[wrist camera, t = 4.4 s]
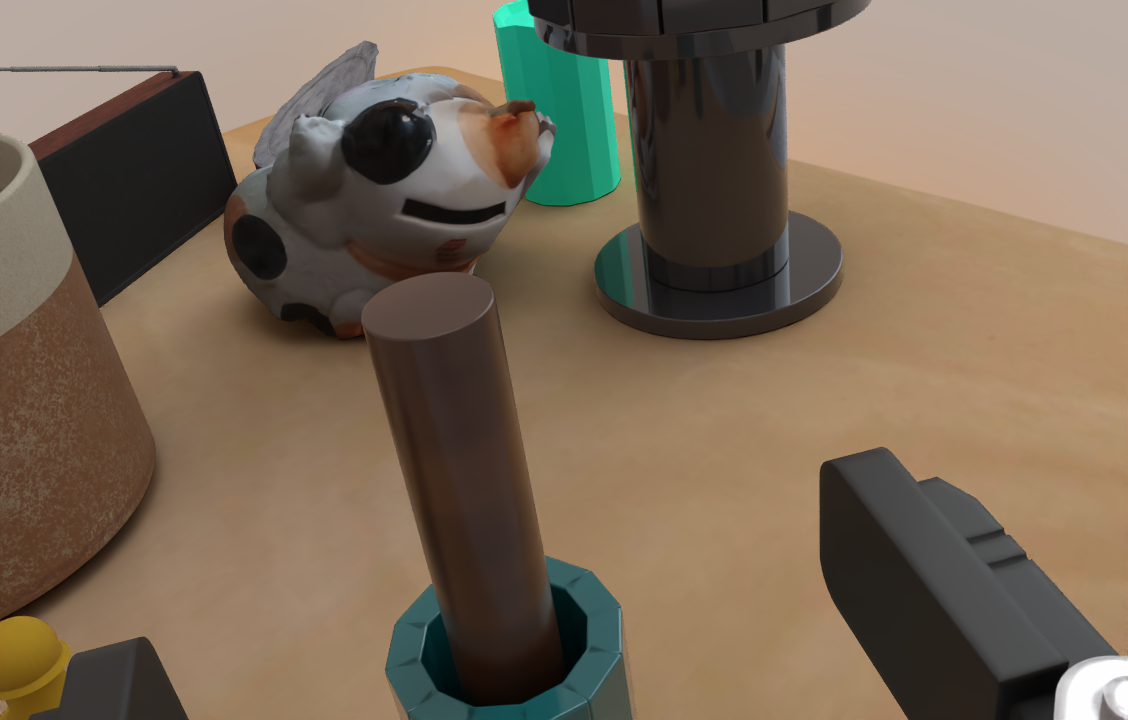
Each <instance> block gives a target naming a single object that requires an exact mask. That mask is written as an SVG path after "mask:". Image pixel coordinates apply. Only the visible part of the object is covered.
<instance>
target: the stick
mask: <svg viewBox="0 0 1128 720" xmlns="http://www.w3.org/2000/svg"><path fill="white" fill-rule="evenodd" d="M361 323H362V326H363V330H364V334H365V337H366V341H367V345H368V348H369V352H370V356H371V359H372V363H373V367H374V370H375V374H376V378H377V381H378V385H379V389H380V392H381V396H382V400H383V403H384V407H385V411H386V414H387V418H388V422H389V425H390V429H391V433H392V436H393V440H394V444H395V447H396V451H397V455H398V458H399V462H400V466H401V469H402V473H403V477H404V480H405V484H406V488H407V491H408V495H409V499H410V502H411V506H412V510H413V513H414V517H415V521H416V524H417V528H418V532H419V535H420V539H421V543H422V547H423V550H424V554H425V558H426V561H427V565H428V569H429V572H430V576H431V580H432V583H433V587H434V591H435V594H436V598H437V602H438V605H439V609H440V613H441V616H442V620H443V624H444V627H445V631H446V635H447V638H448V642H449V646H450V649H451V653H452V657H453V660H454V664H455V668H456V671H457V675H458V679H459V682H460V686H461V690H462V693H463V697H464V701H465V703H467V704H469V705H472V706H474V707H479V706H495V705H510V704H522V703H524V702H526V701H528V700H530V699H532V698H534V697H535V696H537V695H539V694H541V693H543V692H545V691H547V690H549V689H551V688H553V687H555V686H557V685H559V684H560V683H562V682H563V681H564V680H565V678H566V677H567V671H566V666H565V661H564V655H563V650H562V645H561V640H560V634H559V629H558V624H557V619H556V613H555V608H554V603H553V598H552V592H551V587H550V582H549V577H548V572H547V566H546V561H545V556H544V551H543V545H542V540H541V535H540V530H539V524H538V519H537V514H536V509H535V504H534V498H533V493H532V488H531V483H530V477H529V472H528V467H527V462H526V456H525V451H524V446H523V441H522V435H521V430H520V425H519V420H518V415H517V409H516V404H515V399H514V394H513V388H512V383H511V378H510V373H509V367H508V362H507V357H506V352H505V347H504V341H503V336H502V331H501V326H500V320H499V315H498V310H497V305H496V299H495V294H494V291H493V289H492V287H491V286H490V285H489V284H488V282H486V281H485V280H483V279H481V278H479V277H477V276H474V275H471V274H466V273H459V272H440V273H431V274H425V275H420V276H416V277H412V278H409V279H406V280H403V281H400V282H398V283H395V284H393V285H391V286H389V287H387V288H385V289H384V290H382V291H381V292H379V293H378V294H376V295H375V296H374V297H373V298H372V299H371V300H370V301H369V302H368V303H367V304H366V306H365V307H364V309H363V311H362V315H361Z"/></svg>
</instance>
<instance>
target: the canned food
mask: <svg viewBox="0 0 1128 720" xmlns="http://www.w3.org/2000/svg"><path fill="white" fill-rule="evenodd" d="M378 53H379V52H378V49H377V45H376V44H374V43H371V42H369V41H363V42H362V43H360V44H359V45H357V46H355V47H353V48H351V49H349V50H347V51H346V52H345V53H344V54H342V55H341V56H340V57H339V58H338V59H336V60H335V61H333V62H331V63H330V64H329V65H327V66H326V67H325V68H324V69H323V70H322V71H321V72H320V73H319V74H318V75H317V76H316V77H314V78H313V79H312V80H310V81H309V82H308V83H306V84H305V85H303V86H302V87H301V89H300V90H299V91H298V92H297V93H296V94H295V95H294V96H293V97H292V98H291V99H290V100H289V101H288V102H287V103H285V104H284V105H283V106H282V107H281V108H280V109H279V111H278V112H277V114H276V115H275V116H274V118H273V119H272V120H271V121H270V122H269V124H268V125H267V126H266V127H265V128H264V129H263V132H262V134H261V137H260V139H259V141H258V143H257V144H256V146H255V148H254V149H255V151H254V154H253V161H254V164H255V166H256V169H257V170H258V169H261V168H264V167H267V166H269V165H271V164H274V162H275V160H276V157H277V155H278V153H279V152H280V151H281V150H282V149H283V148H285V147H286V146H289V136H290V134H291V132H292V127H293V124H294V120H295V119H296V118H297V117H298V116H299V115H300V114H302V113H305V114H307V115H309V116H310V117H316V115H317V113H318V111H319V110H320V108H321V107H322V106H323V105H324V104H326V103H327V102H329V101H331V100H332V99H333V98H334V97H336V96H338V95H340V94H342V93H345V92H347V91H348V90H350V89H351V88H353V87H356V86H360V85H362V84H363V83H365V82H368V81H371V80H374V69H375V63H376V57H377V55H378Z"/></svg>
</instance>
